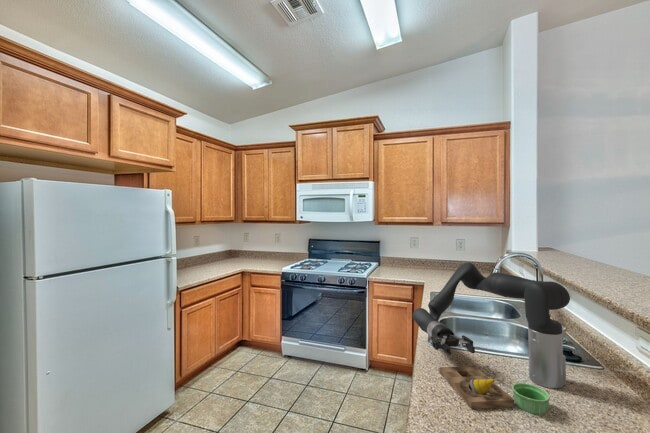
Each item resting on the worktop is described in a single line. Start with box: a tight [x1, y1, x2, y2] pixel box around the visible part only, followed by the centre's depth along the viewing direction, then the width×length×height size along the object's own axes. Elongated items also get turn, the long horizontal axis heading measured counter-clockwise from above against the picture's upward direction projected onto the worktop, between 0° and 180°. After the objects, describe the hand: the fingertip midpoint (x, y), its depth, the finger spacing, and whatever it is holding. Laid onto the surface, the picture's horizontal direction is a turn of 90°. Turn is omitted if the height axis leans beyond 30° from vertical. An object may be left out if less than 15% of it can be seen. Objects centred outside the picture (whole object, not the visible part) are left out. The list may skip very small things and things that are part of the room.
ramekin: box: [512, 382, 551, 416], centre depth 86 cm, size 9×9×4 cm
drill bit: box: [470, 378, 496, 395], centre depth 90 cm, size 5×5×10 cm
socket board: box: [438, 365, 515, 410], centre depth 95 cm, size 13×20×2 cm, turn 4°
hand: (461, 351), depth 102 cm, fingers open, 8 cm apart
